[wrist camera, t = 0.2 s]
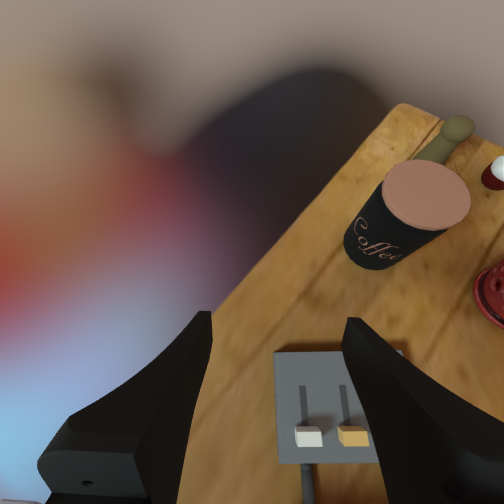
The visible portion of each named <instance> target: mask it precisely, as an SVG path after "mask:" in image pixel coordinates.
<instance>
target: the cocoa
mask: <svg viewBox="0 0 504 504" xmlns="http://www.w3.org/2000/svg"><path fill="white" fill-rule="evenodd" d="M481 180H482V183H483V184H484V185H485V186H486V187H488V188H490V189H493V190H504V155H503V156H498V157H497V158H496V159H495V160H494V162H492V163H491V164H490V165H489V166H488V167H487V168H486V169H485V170H484V172H483V173H482V176H481Z"/></svg>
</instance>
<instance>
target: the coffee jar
mask: <svg viewBox="0 0 504 504" xmlns="http://www.w3.org/2000/svg"><path fill="white" fill-rule="evenodd" d="M470 205H471V198H470V192H469V190H468V188H467V187H466V185H465V183H464V181H463V180H462V179H461V178H460V177H459V176H458V175H457V174H456V173H455V172H453V171H452V170H450V169H448V168H447V167H445V166H443V165H441V164H438V163H435V162H432V161H427V160H418V159H417V160H409V161H404V162H402V163H400V164H397V165H395V166H394V167H393V168H392V169H391V170H390V171H389V172H388V173H387V175H386V176H385V179H384V180H383V181H382V182H381V183H380V184H379V185H378V187H377V188H376V189H375V191H374V192H373V194H372V195H371V196H370V198H369V199H368V201H367V202H366V203H365V205H364V206H363V208H362V209H361V210H360V212H359V213H358V215H357V216H356V217H355V219H354V220H353V222H352V223H351V224H350V226H349V227H348V229H347V230H346V233H345V235H344V243H343V244H344V247H345V251H346V253H347V254H348V256H349V257H350V259H351V260H352V261H353V262H355V263H356V264H357V265H359V266H361V267H363V268H365V269H371V270H383V269H386V268H388V267H390V266H392V265H394V264H395V263H397V262H399V261H400V260H402V259H403V258H405V257H406V256H408V255H410V254H411V253H413V252H414V251H416V250H417V249H419V248H421V247H422V246H424V245H425V244H427V243H428V242H430V241H431V240H433V239H435V238H436V237H438V236H439V235H441V234H442V233H444V232H446V231H447V229H448V228H449V227H451V226H453V225H455V224H457V223H459V222H461V221H462V220H463V219H464V217H465V216H466V215H467V214H468V213H469V209H470Z"/></svg>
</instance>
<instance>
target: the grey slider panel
mask: <svg viewBox="0 0 504 504" xmlns="http://www.w3.org/2000/svg"><path fill="white" fill-rule="evenodd" d="M396 351H397V352H398V353H400V354H401V355H402V356H403V354H402V350H396ZM273 365H274V385H275V406H276V427H277V448H278V459H279V464H297V463H379V460H378V457H377V453H376V449H375V446H374V442H373V439H372V435H371V432H370V429H369V425H368V422H367V419H366V416H365V413H364V410H363V408H362V405H361V403H360V400H359V398H358V395H357V393H356V390H355V388H354V385H353V383H352V380H351V378H350V375H349V373H348V370H347V367H346V365H345V361H344V357H343V353H342V351H320V352H273ZM300 426H317V427H318V428H319V430H320V431H321V436H322V445H323V447H298V446H297V443H296V441H295V427H300ZM337 426H361V427H362V428H363V429H365V430H366V431H367V434H368V440H369V446H345V447H344V445H343V444H342V443H341V442H340V441H339V437H338V429H337Z"/></svg>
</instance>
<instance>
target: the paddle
mask: <svg viewBox="0 0 504 504" xmlns="http://www.w3.org/2000/svg"><path fill="white" fill-rule="evenodd" d="M295 441H296V443H297V446H298V447H323V445H322V436H321V431H320V430H319V428H318V427H317V426H300V427H295Z"/></svg>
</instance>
